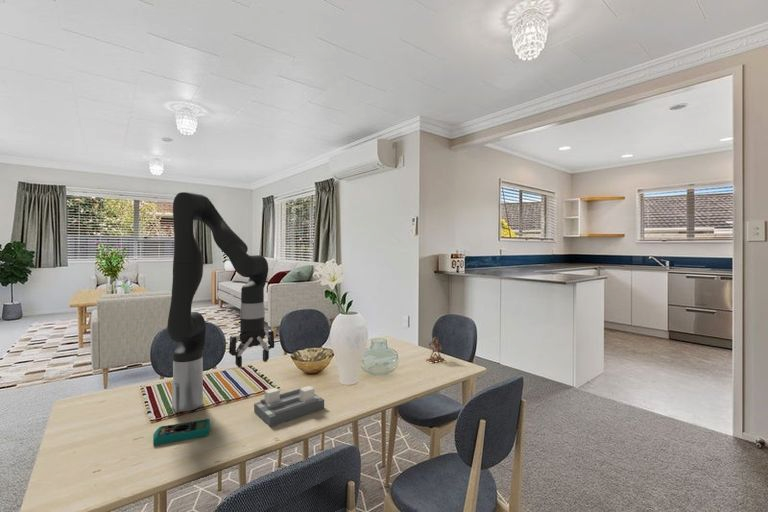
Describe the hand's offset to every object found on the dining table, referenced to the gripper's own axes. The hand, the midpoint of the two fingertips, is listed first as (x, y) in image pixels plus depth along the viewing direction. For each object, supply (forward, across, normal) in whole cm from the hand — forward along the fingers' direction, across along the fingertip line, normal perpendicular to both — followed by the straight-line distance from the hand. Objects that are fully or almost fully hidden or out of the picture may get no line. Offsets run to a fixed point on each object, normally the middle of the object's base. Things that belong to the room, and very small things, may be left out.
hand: (252, 364), depth 119 cm
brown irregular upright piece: (+18, -92, +2) cm, 94 cm away
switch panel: (+18, -12, +3) cm, 22 cm away
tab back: (+15, -7, 0) cm, 16 cm away
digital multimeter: (+19, +20, -3) cm, 28 cm away
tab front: (+15, -17, +6) cm, 23 cm away
